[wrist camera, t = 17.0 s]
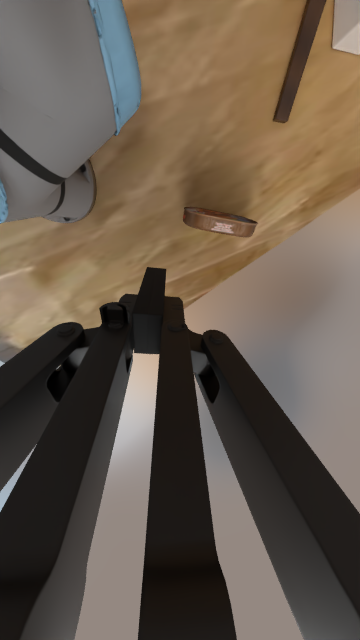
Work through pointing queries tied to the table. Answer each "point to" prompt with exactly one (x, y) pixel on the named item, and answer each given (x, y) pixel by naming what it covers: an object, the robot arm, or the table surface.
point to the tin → (218, 222)
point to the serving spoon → (299, 58)
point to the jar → (347, 26)
